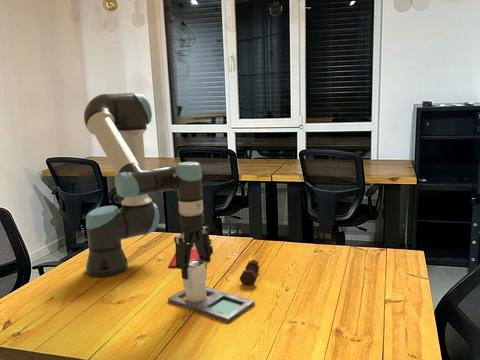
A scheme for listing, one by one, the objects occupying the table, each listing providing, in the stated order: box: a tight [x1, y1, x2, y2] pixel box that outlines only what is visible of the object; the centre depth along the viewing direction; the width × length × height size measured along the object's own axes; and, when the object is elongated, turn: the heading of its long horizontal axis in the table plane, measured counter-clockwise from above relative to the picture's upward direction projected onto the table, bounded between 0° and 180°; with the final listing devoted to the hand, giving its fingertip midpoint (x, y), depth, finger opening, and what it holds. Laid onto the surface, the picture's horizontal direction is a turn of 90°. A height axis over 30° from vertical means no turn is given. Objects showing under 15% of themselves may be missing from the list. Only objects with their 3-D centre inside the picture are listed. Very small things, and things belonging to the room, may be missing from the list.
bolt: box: [239, 259, 260, 287], centre depth 156 cm, size 6×5×15 cm
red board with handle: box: [167, 238, 214, 269], centre depth 181 cm, size 30×3×15 cm
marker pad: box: [210, 299, 241, 314], centre depth 133 cm, size 8×8×1 cm
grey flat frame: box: [167, 286, 256, 324], centre depth 137 cm, size 24×13×1 cm, turn 53°
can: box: [184, 259, 207, 303], centre depth 139 cm, size 6×6×12 cm
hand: (195, 283), depth 140 cm, fingers closed on can, 6 cm apart
